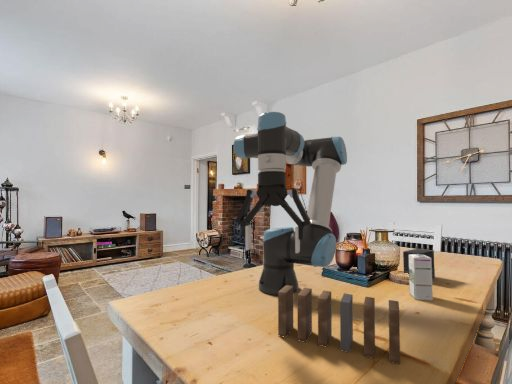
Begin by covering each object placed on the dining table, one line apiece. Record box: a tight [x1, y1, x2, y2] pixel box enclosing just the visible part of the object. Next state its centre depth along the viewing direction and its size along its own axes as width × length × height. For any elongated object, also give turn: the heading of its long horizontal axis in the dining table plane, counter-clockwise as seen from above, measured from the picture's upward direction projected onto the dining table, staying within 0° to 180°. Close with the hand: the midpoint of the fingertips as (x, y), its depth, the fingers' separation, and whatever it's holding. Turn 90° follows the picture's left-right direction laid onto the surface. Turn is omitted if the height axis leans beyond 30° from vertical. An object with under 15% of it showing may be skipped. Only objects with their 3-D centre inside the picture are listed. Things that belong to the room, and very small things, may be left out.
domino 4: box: [339, 292, 354, 353], centre depth 65 cm, size 2×6×11 cm, turn 154°
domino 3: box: [317, 290, 333, 348], centre depth 67 cm, size 2×6×11 cm, turn 154°
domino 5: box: [363, 296, 376, 359], centre depth 62 cm, size 2×6×11 cm, turn 154°
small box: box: [402, 248, 436, 279], centre depth 119 cm, size 13×7×12 cm, turn 123°
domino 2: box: [297, 287, 313, 343], centre depth 69 cm, size 2×6×11 cm, turn 154°
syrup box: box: [408, 254, 434, 302], centre depth 96 cm, size 6×6×14 cm
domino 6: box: [388, 299, 401, 365], centre depth 60 cm, size 2×6×11 cm, turn 154°
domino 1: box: [277, 285, 294, 338], centre depth 71 cm, size 2×6×11 cm, turn 154°
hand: (272, 250), depth 73 cm, fingers open, 13 cm apart
